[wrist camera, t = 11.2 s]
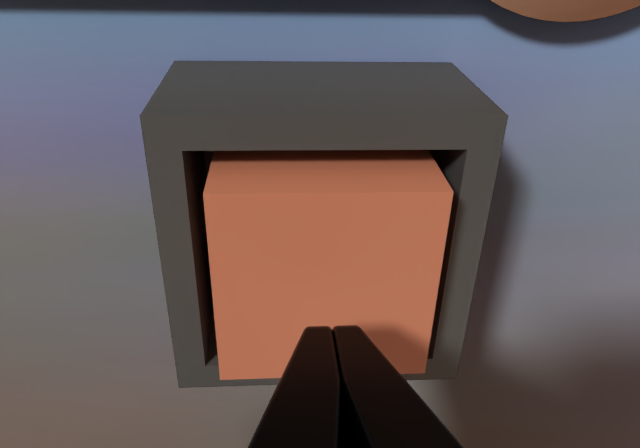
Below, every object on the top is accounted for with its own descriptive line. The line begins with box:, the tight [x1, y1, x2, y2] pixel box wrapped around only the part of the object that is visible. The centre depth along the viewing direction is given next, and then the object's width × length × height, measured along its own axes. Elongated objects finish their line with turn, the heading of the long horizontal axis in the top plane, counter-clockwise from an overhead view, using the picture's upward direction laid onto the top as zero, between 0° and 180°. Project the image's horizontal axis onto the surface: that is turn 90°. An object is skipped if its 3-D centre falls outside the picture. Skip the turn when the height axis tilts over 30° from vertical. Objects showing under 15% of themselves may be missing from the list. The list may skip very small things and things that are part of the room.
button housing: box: [140, 61, 508, 388], centre depth 12 cm, size 6×6×4 cm
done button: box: [203, 150, 454, 380], centre depth 11 cm, size 4×4×2 cm
